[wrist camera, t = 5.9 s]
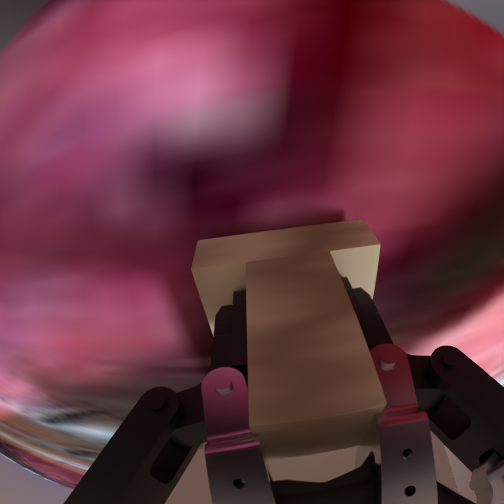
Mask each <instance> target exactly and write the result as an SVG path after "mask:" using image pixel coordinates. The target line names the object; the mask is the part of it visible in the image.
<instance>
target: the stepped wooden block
mask: <svg viewBox="0 0 504 504" xmlns="http://www.w3.org/2000/svg"><path fill="white" fill-rule="evenodd" d="M379 252H380V243H379V241H378V240H377V239H376V237H375V236H374V234H373V233H372V231H371V230H370V229H369V227H368V226H367V224H366V223H365V222H364V220H363V219H361V220H352V221H343V222H335V223H327V224H318V225H310V226H302V227H294V228H286V229H278V230H270V231H263V232H255V233H248V234H240V235H233V236H225V237H218V238H211V239H204V240H198V242H197V246H196V250H195V254H194V258H193V262H192V267H191V271H192V274H193V277H194V280H195V283H196V286H197V289H198V292H199V295H200V298H201V301H202V304H203V307H204V310H205V313H206V316H207V319H208V322H209V325H210V328H211V330H212V333H213V334H214V324H215V315H216V314H217V312H218V311H219V309H220V308H221V306H225V305H233V292H234V291H241V290H246V306H247V357H248V401H249V427H250V429H251V432H252V434H253V435H257V434H258V436H259V439H260V442H261V444H262V448H263V450H264V453H265V456H266V458H267V460H270V459H281V458H290V457H298V456H305V455H312V454H318V453H324V452H330V451H335V450H340V449H345V448H350V447H354V446H358V445H359V443H360V442H361V441H363V439H364V437H365V435H366V433H367V431H368V427H369V425H370V423H371V421H372V419H373V417H374V415H379V414H381V413H382V411H383V409H384V408H385V406H386V404H387V402H386V399H385V396H384V393H383V389H382V386H381V383H380V380H379V377H378V374H377V371H376V369H375V366H374V363H373V360H372V357H371V354H370V351H369V349H368V346H367V343H366V340H365V338H364V335H363V332H362V330H361V327H360V324H359V322H358V319H357V316H356V314H355V311H354V309H353V306H352V304H351V301H350V299H349V296H348V294H347V291H346V289H345V286H344V284H343V281H342V279H341V277H347V278H348V280H349V282H350V284H351V286H352V288H359V287H361V288H362V289H364V290H365V291H366V292H367V293H368V294H370V296H371V298H372V299H373V294H374V287H375V281H376V274H377V267H378V260H379ZM213 336H214V335H213Z"/></svg>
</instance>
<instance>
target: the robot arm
mask: <svg viewBox="0 0 504 504" xmlns="http://www.w3.org/2000/svg"><path fill="white" fill-rule="evenodd" d="M341 279H342V281H343V284H344V286H345V289H346V291H347V294H348V296H349V299H350V301H351V304H352V306H353V309H354V311H355V314H356V316H357V319H358V322H359V324H360V327H361V330H362V332H363V335H364V338H365V340H366V343H367V346H368V349H369V351H370V354H371V357H372V360H373V363H374V366H375V369H376V371H377V374H378V377H379V380H380V383H381V386H382V389H383V393H384V396H385V399H386V402H387V404H386V406H385V408H384V409H383V411H382V413H381V414H379V415H374V417H373V419H372V421H371V423H370V425H369V427H368V431H367V433H366V435H365V437H364V439H363V441H361V442H360V443H359V445H358V446H357V451H356V457H355V469H354V470H352V471H349V472H347V473H345V474H343V475H341V476H339V477H336V478H334V479H332V480H329V481H327V482H308V481H296V480H278V481H273V477H272V474H271V470H270V467H269V463H268V460H267V458H266V456H265V453H264V450H263V448H262V444H261V442H260V439H259V436H258V434H257V435H253V434H252V432H251V429H250V427H249V401H248V357H247V306H246V290H241V291H234V292H233V305H225V306H221V308H220V309H219V311H218V312H217V314H216V315H215V324H214V334H213V335H214V337H213V344H212V355H211V366H210V371H209V373H208V374H207V375H206V376H205V378H204V379H203V381H202V383H200V384H199V385H197V386H196V387H193V388H191V389H187V390H184V391H181V392H178V393H175V392H174V391H173V390H171V389H170V388H167V387H155V388H152V389H150V390H148V391H147V392H145V393H144V394H143V395H142V397H141V398H140V399H139V401H138V402H137V403H136V405H135V406H134V408H133V409H132V410H131V412H130V413H129V414H128V416H127V417H126V419H125V420H124V421H123V423H122V424H121V425H120V427H119V428H118V430H117V431H116V432H115V434H114V435H113V436H112V438H111V439H110V440H109V442H108V443H107V445H106V446H105V447H104V449H103V450H102V451H101V453H100V454H99V456H98V457H97V458H96V460H95V461H94V462H93V464H92V465H91V467H90V468H89V469H88V471H87V472H86V473H85V475H84V476H83V478H82V479H81V480H80V482H79V483H78V485H77V486H76V487H75V489H74V490H73V492H72V493H71V494H70V496H69V497H68V498H67V500H66V501H65V502H64V504H165V502H166V501H167V499H168V498H169V496H170V494H171V493H172V491H173V490H174V488H175V486H176V485H177V483H178V482H179V480H180V478H181V477H182V475H183V473H184V472H185V470H186V469H187V467H188V465H189V464H190V462H191V460H192V459H193V457H194V455H195V453H196V452H197V450H198V448H199V447H200V445H201V444H202V443H205V442H207V444H205V449H204V451H205V461H206V467H207V474H208V481H209V487H210V493H211V499H212V504H475V503H473V502H472V501H470V500H468V499H466V498H465V497H463V496H461V495H460V494H458V493H456V492H455V491H453V490H451V489H450V488H448V487H446V486H445V485H443V484H441V483H440V482H438V481H437V480H436V471H435V462H434V453H433V446H432V439H431V432H432V433H433V434H434V435H435V436H436V437H437V438H438V439H439V440H440V441H441V442H442V443H443V444H444V445H445V446H446V447H447V448H448V449H450V451H451V452H452V453H453V454H455V456H456V457H457V458H458V459H459V460H460V461H461V462H462V463H463V464H464V465H465V466H466V467H467V468H468V469H469V470H470V471H471V472H472V476H471V481H470V488H471V489H472V490H474V492H475V493H476V496H477V504H504V387H503V386H502V385H500V384H499V383H498V382H497V381H496V380H495V379H493V378H492V377H491V376H490V375H489V374H488V373H486V372H485V371H484V370H483V369H482V368H481V367H479V366H478V365H477V364H476V363H475V362H473V361H472V360H471V359H470V358H469V357H467V356H466V355H465V354H464V353H463V352H461V351H460V350H459V349H457V348H455V347H453V346H441V347H438V348H437V349H435V350H434V352H433V353H432V355H431V356H417V355H409V354H406V353H405V352H404V350H403V349H401V348H400V347H398V346H396V345H394V344H393V342H392V340H391V338H390V336H389V334H388V331H387V329H386V327H385V325H384V323H383V321H382V319H381V316H380V314H378V310H377V308H376V306H375V304H374V302H373V300H372V298H371V296H370V294H368V293H367V292H366V291H365V290H364V289H362V288H361V287H359V288H352V286H351V284H350V282H349V280H348V278H347V277H341ZM430 431H431V432H430ZM404 457H405V458H406V459H405V458H404Z"/></svg>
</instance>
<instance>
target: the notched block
mask: <svg viewBox="0 0 504 504" xmlns="http://www.w3.org/2000/svg"><path fill="white" fill-rule="evenodd" d="M430 432H431V431H430ZM431 439H432V446H433V453H434V462H435V471H436V480H437V481H438V482H440V483H441V484H443V485H445V486H446V487H448V488H450V489H451V490H453V491H455V492H456V493H458V489H457V485H456V482H455V478H454V475H453V472H452V468H451V465H450V462H449V459H448V456H447V453H446V450H445V447H444V444H443V443H442V442H441V441H440V440H439V439H438V438H437V437H436V436H435V435H434V434H433V433H432V432H431ZM205 444H207V442H205V443H202V444H201V445H200V447H199V448H198V450H197V452H196V453H195V455H194V457H193V459H192V460H191V462H190V464H189V465H188V467H187V469H186V470H185V472H184V473H183V475H182V477H181V478H180V480H179V482H178V483H177V485H176V486H175V488H174V490H173V491H172V493H171V494H170V496H169V498H168V499H167V501H166V502H165V504H212V499H211V493H210V487H209V481H208V474H207V467H206V461H205V451H204V449H205ZM356 451H357V446H354V447H350V448H345V449H340V450H335V451H330V452H324V453H318V454H312V455H305V456H298V457H290V458H281V459H270V460H268V463H269V467H270V470H271V474H272V477H273V481H278V480H296V481H308V482H327V481H329V480H332V479H334V478H336V477H339V476H341V475H343V474H345V473H347V472H349V471H352V470H354V469H355V457H356ZM404 458H405V457H404ZM405 459H406V458H405ZM458 494H459V493H458Z"/></svg>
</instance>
